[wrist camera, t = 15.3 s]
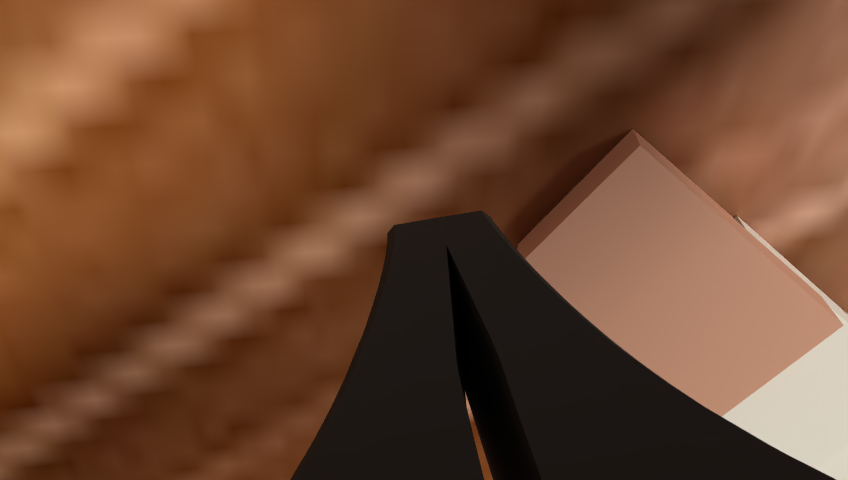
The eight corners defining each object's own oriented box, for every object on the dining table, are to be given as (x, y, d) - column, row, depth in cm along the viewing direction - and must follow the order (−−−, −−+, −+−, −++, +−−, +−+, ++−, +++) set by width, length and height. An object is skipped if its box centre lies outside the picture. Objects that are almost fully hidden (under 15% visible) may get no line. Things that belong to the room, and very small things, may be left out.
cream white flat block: (629, 339, 24) (797, 479, 25) (751, 236, 22) (926, 393, 23) (623, 313, 26) (781, 445, 27) (736, 215, 24) (901, 362, 25)
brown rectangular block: (515, 267, 22) (708, 426, 23) (640, 145, 20) (843, 325, 21) (517, 244, 23) (697, 393, 25) (633, 128, 21) (821, 296, 23)
